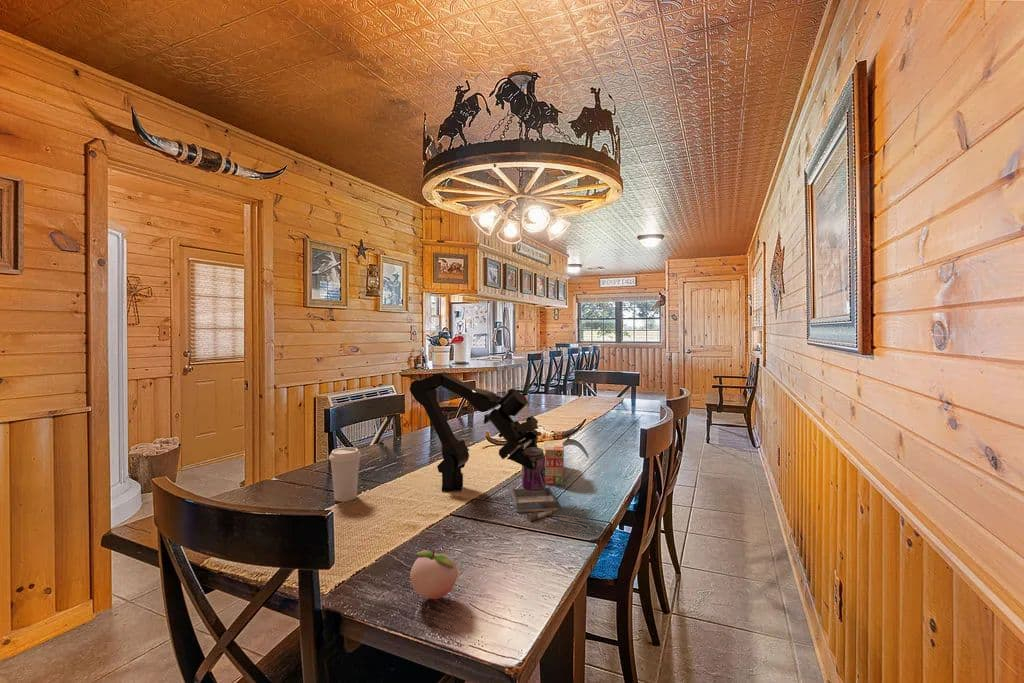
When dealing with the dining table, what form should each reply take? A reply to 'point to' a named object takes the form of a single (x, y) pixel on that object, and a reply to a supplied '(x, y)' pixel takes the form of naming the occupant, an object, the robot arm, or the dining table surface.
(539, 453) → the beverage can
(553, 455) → the stack of blocks
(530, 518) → the pin gauge
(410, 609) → the dining table surface
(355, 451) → the coffee cup
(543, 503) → the tray
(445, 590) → the decorative fruit
